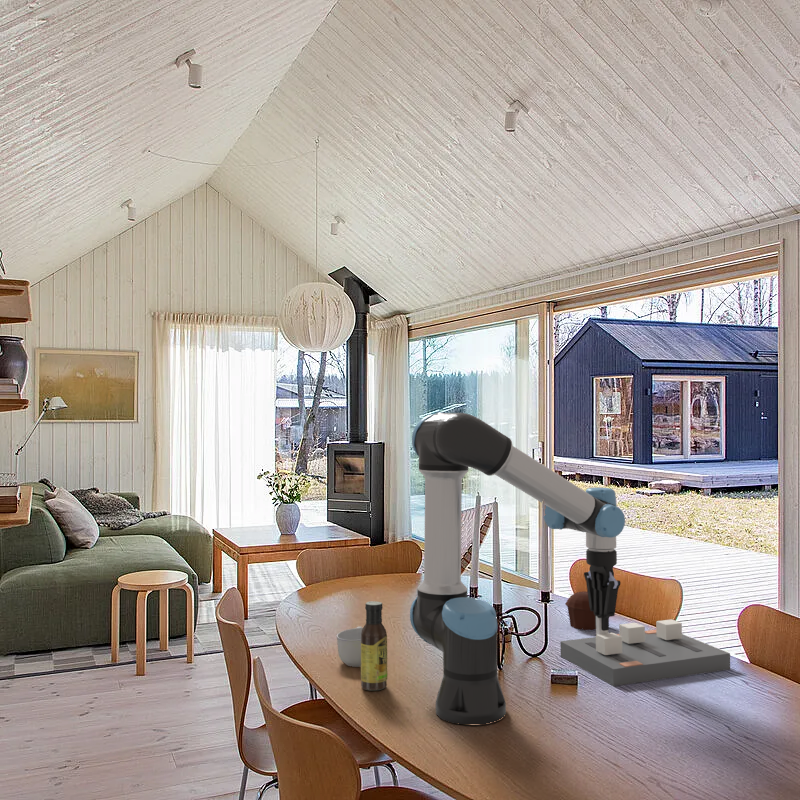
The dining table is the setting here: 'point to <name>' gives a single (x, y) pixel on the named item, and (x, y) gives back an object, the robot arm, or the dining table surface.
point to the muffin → (580, 612)
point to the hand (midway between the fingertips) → (602, 641)
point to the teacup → (350, 646)
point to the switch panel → (646, 659)
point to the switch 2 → (669, 629)
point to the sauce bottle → (373, 649)
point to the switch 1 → (608, 643)
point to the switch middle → (632, 633)
